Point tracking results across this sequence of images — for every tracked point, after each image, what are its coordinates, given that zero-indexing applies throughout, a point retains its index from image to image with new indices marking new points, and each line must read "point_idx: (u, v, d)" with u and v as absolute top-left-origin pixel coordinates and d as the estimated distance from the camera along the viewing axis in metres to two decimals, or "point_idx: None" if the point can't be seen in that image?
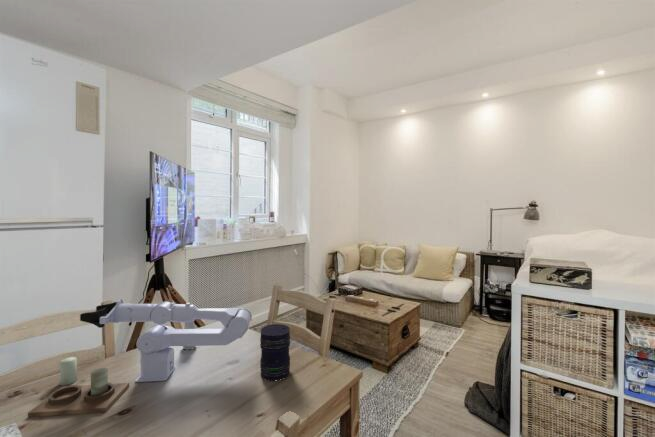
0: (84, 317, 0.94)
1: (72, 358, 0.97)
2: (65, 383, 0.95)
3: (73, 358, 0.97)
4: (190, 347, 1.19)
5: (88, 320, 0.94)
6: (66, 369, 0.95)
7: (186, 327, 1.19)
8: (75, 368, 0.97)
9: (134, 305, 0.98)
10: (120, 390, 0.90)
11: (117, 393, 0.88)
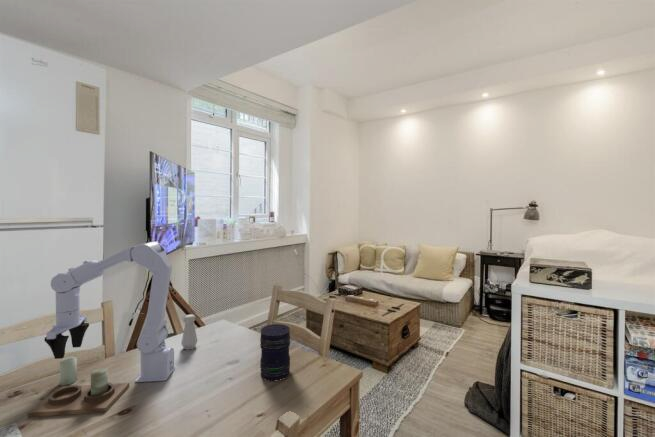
0: (57, 354, 0.92)
1: (72, 358, 0.97)
2: (65, 383, 0.95)
3: (73, 358, 0.97)
4: (190, 347, 1.19)
5: (60, 350, 0.92)
6: (66, 369, 0.95)
7: (186, 327, 1.19)
8: (75, 368, 0.97)
9: None
10: (120, 390, 0.90)
11: (117, 393, 0.88)
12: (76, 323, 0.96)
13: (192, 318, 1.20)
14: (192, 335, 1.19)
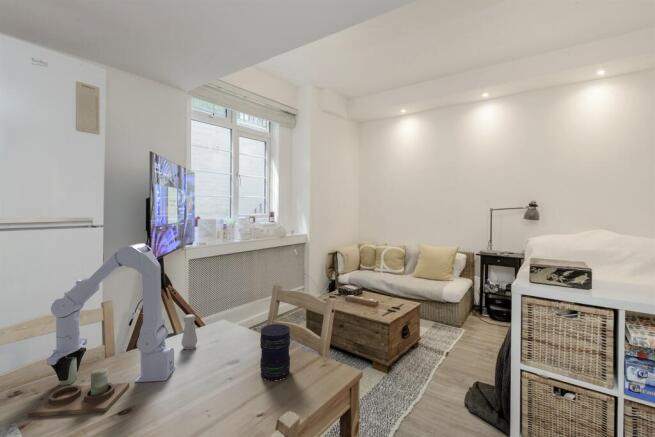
0: (61, 376, 0.94)
1: None
2: (65, 383, 0.95)
3: (73, 358, 0.97)
4: (190, 347, 1.19)
5: (64, 373, 0.94)
6: None
7: (186, 327, 1.19)
8: (75, 368, 0.97)
9: None
10: (120, 390, 0.90)
11: (117, 393, 0.88)
12: (76, 347, 0.96)
13: (192, 318, 1.20)
14: (192, 335, 1.19)
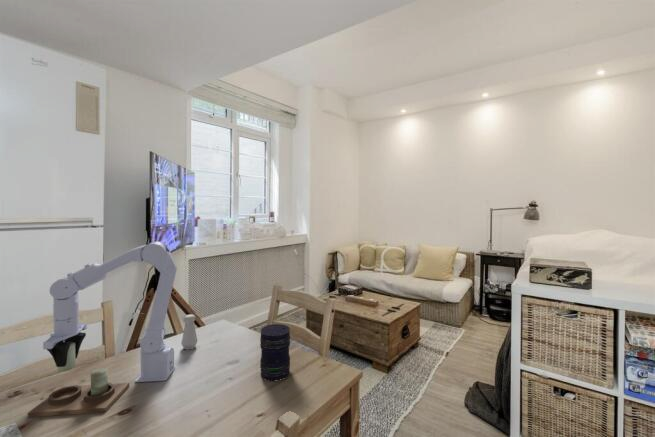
0: (59, 362, 0.88)
1: None
2: (63, 369, 0.89)
3: (71, 343, 0.92)
4: (190, 347, 1.19)
5: (62, 358, 0.88)
6: None
7: (186, 327, 1.19)
8: (73, 354, 0.91)
9: (53, 318, 0.89)
10: (120, 390, 0.90)
11: (117, 393, 0.88)
12: (75, 331, 0.91)
13: (192, 318, 1.20)
14: (192, 335, 1.19)
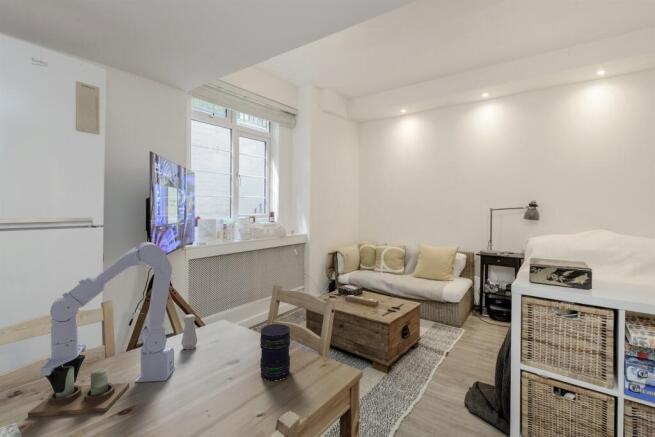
0: (57, 388, 0.83)
1: None
2: (60, 395, 0.84)
3: (70, 367, 0.87)
4: (190, 347, 1.19)
5: (61, 384, 0.84)
6: None
7: (186, 327, 1.19)
8: (72, 378, 0.86)
9: (51, 342, 0.84)
10: (120, 390, 0.90)
11: (117, 393, 0.88)
12: (74, 355, 0.86)
13: (192, 318, 1.20)
14: (192, 335, 1.19)
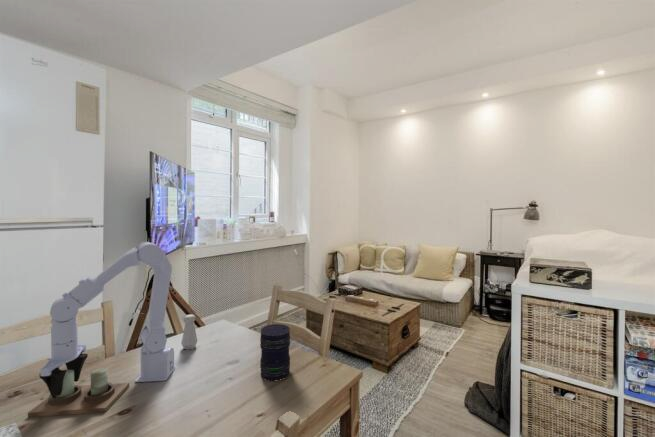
0: (53, 391, 0.82)
1: (69, 371, 0.87)
2: None
3: (70, 371, 0.87)
4: (190, 347, 1.19)
5: (57, 387, 0.82)
6: None
7: (186, 327, 1.19)
8: (72, 382, 0.86)
9: (51, 342, 0.84)
10: (120, 390, 0.90)
11: (117, 393, 0.88)
12: (74, 355, 0.86)
13: (192, 318, 1.20)
14: (192, 335, 1.19)
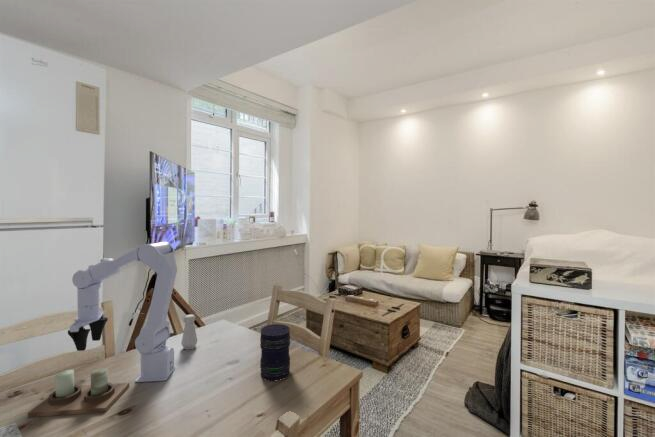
0: (79, 346, 0.97)
1: (69, 371, 0.87)
2: None
3: (70, 371, 0.87)
4: (190, 347, 1.19)
5: (82, 343, 0.97)
6: (62, 384, 0.84)
7: (186, 327, 1.19)
8: (72, 382, 0.86)
9: None
10: (120, 390, 0.90)
11: (117, 393, 0.88)
12: (96, 317, 1.01)
13: (192, 318, 1.20)
14: (192, 335, 1.19)
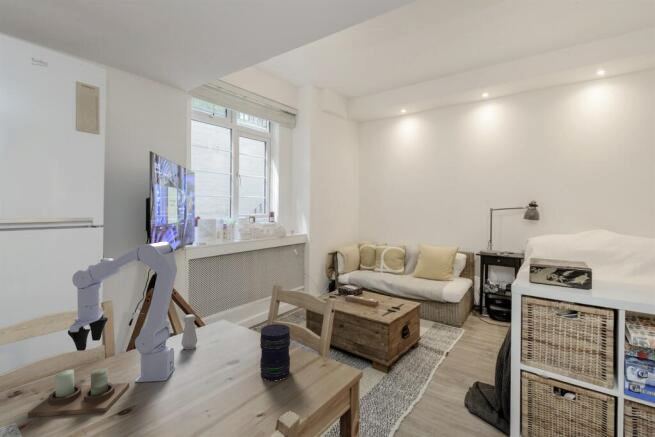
0: (79, 346, 0.97)
1: (69, 371, 0.87)
2: None
3: (70, 371, 0.87)
4: (190, 347, 1.19)
5: (82, 343, 0.97)
6: (62, 384, 0.84)
7: (186, 327, 1.19)
8: (72, 382, 0.86)
9: None
10: (120, 390, 0.90)
11: (117, 393, 0.88)
12: (96, 317, 1.01)
13: (192, 318, 1.20)
14: (192, 335, 1.19)
